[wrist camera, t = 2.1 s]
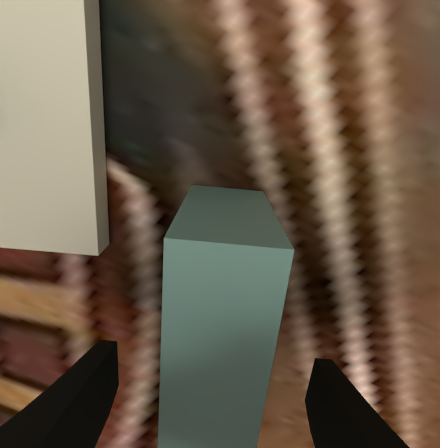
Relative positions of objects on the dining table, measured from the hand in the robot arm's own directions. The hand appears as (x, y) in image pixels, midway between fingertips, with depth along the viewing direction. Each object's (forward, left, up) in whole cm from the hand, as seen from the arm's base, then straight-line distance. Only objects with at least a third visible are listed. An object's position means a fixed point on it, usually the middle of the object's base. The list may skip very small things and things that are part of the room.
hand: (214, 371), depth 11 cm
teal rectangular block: (0, 0, -4) cm, 4 cm away
